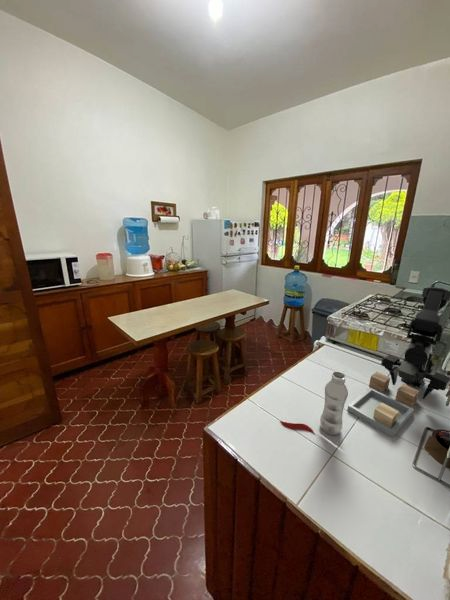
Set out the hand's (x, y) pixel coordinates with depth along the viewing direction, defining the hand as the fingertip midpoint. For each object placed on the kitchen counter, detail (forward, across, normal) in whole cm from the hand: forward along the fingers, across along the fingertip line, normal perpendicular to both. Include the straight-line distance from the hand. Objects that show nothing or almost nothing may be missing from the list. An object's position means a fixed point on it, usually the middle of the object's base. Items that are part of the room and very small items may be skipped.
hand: (408, 391), depth 89 cm
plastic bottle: (+4, -9, -34) cm, 36 cm away
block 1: (+4, -10, 0) cm, 10 cm away
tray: (+4, -3, -14) cm, 15 cm away
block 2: (+4, 0, -18) cm, 18 cm away
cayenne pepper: (+5, -16, -42) cm, 45 cm away
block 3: (+4, 0, 0) cm, 4 cm away
